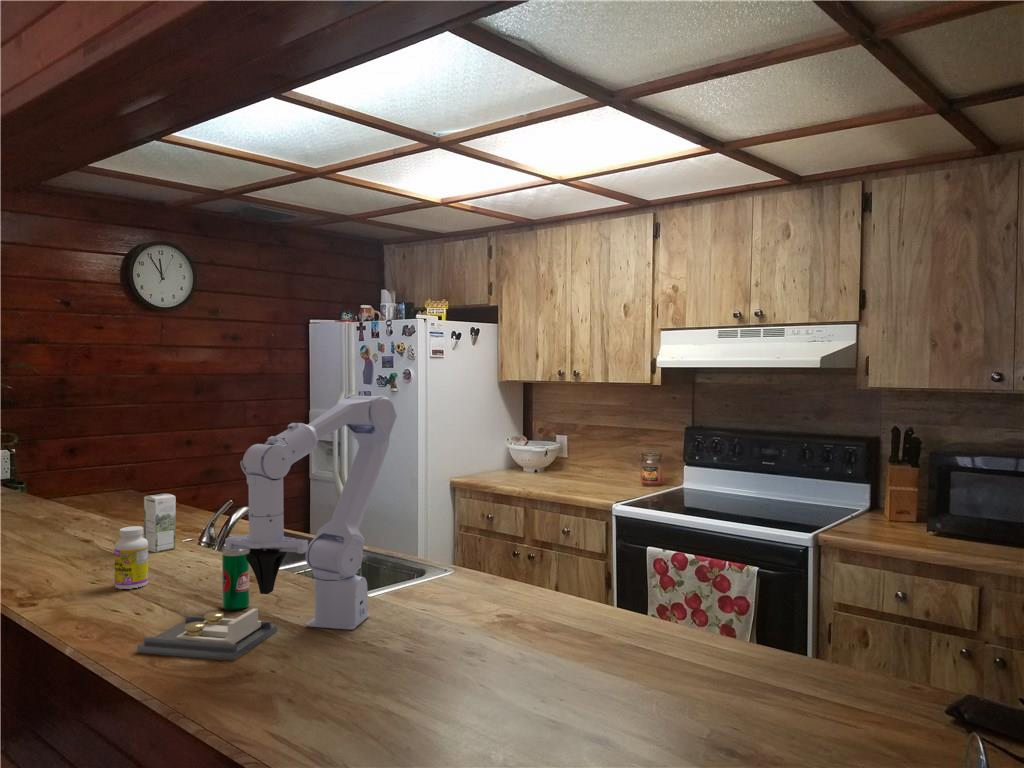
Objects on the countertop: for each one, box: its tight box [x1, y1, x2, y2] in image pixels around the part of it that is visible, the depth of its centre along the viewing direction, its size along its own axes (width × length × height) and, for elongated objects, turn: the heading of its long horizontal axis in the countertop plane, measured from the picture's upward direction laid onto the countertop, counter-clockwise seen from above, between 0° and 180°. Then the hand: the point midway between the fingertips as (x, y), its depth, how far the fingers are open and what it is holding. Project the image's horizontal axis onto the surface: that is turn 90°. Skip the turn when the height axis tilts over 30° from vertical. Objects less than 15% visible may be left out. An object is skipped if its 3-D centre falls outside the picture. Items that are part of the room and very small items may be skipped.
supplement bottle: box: [114, 525, 149, 590], centre depth 164 cm, size 7×7×13 cm
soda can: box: [221, 548, 250, 611], centre depth 149 cm, size 5×5×12 cm
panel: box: [176, 608, 262, 644], centre depth 130 cm, size 10×10×4 cm
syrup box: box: [143, 493, 177, 553], centre depth 197 cm, size 6×6×14 cm
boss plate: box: [136, 610, 278, 662], centre depth 130 cm, size 18×14×4 cm
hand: (266, 592), depth 128 cm, fingers closed
